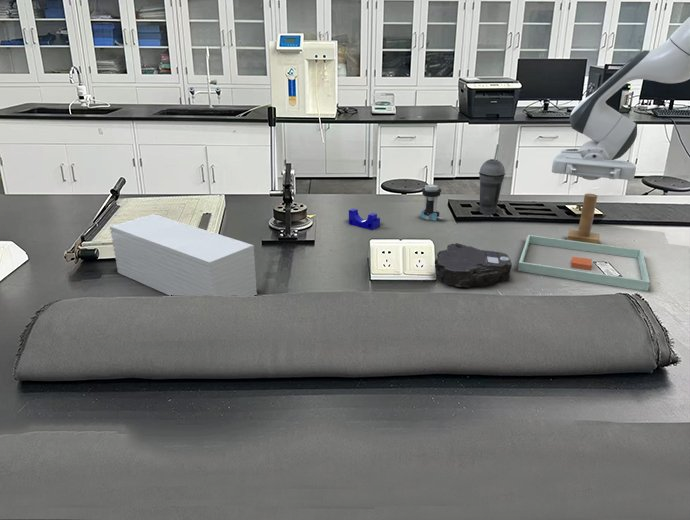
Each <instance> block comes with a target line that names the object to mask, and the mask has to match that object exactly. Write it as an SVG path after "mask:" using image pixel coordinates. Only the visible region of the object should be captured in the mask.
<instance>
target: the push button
mask: <svg viewBox="0 0 690 520" xmlns="http://www.w3.org/2000/svg"><path fill="white" fill-rule="evenodd" d="M441 193H442V188H439V185H438V184H431V183H429V184H425V185H424V187H422V188H421V194H422V195H423V196H424V202H423V203H424V204H423V208H422V209H423V210H421V211H420V218H421V219H425V220H426V221H435V222H436V221H439V220H440V219H441V220H443V219H444V217H441V216H440V212H439V211H438V197H440V196H441Z"/></svg>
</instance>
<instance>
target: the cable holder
mask: <svg viewBox="0 0 690 520" xmlns="http://www.w3.org/2000/svg"><path fill="white" fill-rule="evenodd" d="M358 211H359V210H358V209H357V208H351V209H349V210H348V225H350V226H355V227H359V228H363V229H367V230H371V231H374V230H375V229H379V228H380V227H381V218H380V217H378V213H375V212H371V213H369V214H368V215H367V218H366V219H363V218H362V217H361V216H360V214H359V212H358Z"/></svg>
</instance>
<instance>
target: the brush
mask: <svg viewBox="0 0 690 520" xmlns="http://www.w3.org/2000/svg"><path fill="white" fill-rule="evenodd" d="M597 200H598V195H597V194H595V193H584V196H583V202H582V208H581V213H580V218H579V222H578V223H579V224H578V229H577V230H574V229H568V232H567V238H566V240H571V241H579V242H586V243H594V244H600V233H599V232H592V226H593V223H594V222H593V221H594V216H595V211H596V205H597Z"/></svg>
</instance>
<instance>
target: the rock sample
mask: <svg viewBox="0 0 690 520" xmlns="http://www.w3.org/2000/svg"><path fill="white" fill-rule="evenodd" d="M436 256H437V257H436V258H435V260H434V268H435V269H436V274H437V279H438V280H439V281H440V282H443V283H445V284H447V286H448V285H449V286H451V287H457V288H464V289H465V288H467V289H468V288H474V287H477V288H482V287H489V286H493V285H495V283H504V282H508V281H509V279H510V275H511V270H512V267H513V264H512V261H511V260H512V259H511V258H510V256H509V254H507V253H504V252H502V251H501V252H500V251H494V250H484V249H479V248H476V247H474V246H470V245H466V244H461V243H458V242H455V243H451V244H448V245H447V248H446V249H444V250H439V252H437V254H436Z"/></svg>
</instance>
